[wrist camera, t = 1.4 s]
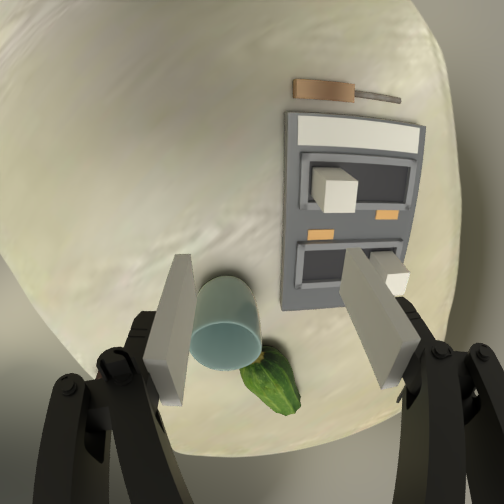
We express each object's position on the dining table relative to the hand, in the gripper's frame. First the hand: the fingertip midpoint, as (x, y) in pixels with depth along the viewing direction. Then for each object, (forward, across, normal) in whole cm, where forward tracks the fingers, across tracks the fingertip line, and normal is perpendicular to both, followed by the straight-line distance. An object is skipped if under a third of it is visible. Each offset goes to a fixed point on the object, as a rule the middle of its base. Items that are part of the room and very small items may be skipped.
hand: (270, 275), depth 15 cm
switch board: (+19, +12, -5) cm, 23 cm away
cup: (+19, -4, -15) cm, 25 cm away
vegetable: (+20, +3, -33) cm, 39 cm away
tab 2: (+17, +16, -10) cm, 25 cm away
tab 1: (+17, +8, 0) cm, 18 cm away
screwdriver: (+19, +10, +9) cm, 24 cm away
